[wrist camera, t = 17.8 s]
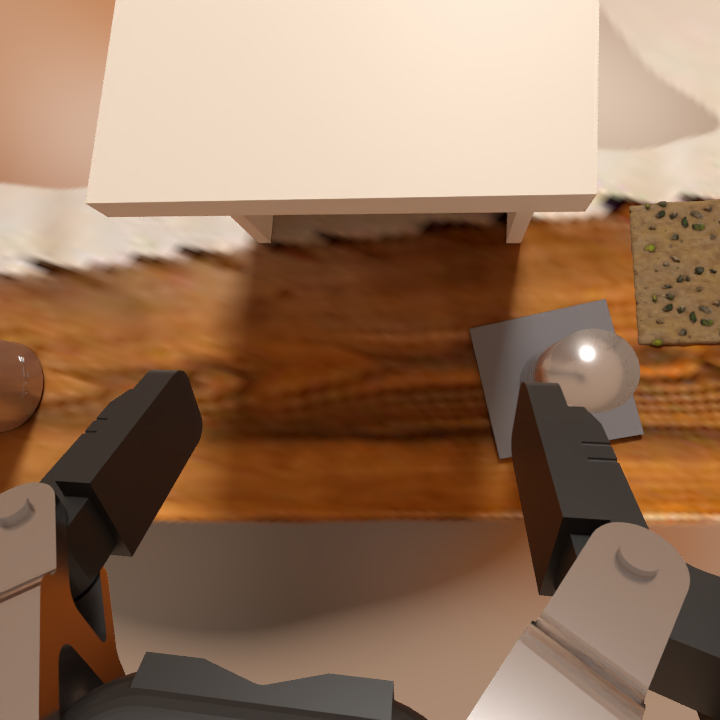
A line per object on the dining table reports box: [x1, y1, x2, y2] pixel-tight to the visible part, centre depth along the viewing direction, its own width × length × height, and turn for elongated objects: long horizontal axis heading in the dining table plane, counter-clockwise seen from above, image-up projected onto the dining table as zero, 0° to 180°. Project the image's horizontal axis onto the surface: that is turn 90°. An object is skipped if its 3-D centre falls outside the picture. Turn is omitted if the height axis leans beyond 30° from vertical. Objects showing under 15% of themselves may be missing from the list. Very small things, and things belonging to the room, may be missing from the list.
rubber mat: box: [469, 299, 644, 459], centre depth 37 cm, size 11×11×1 cm
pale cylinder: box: [521, 329, 640, 412], centre depth 32 cm, size 5×5×10 cm
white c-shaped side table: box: [85, 0, 599, 243], centre depth 32 cm, size 24×14×21 cm, turn 86°
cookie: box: [629, 199, 720, 346], centre depth 36 cm, size 12×12×1 cm
